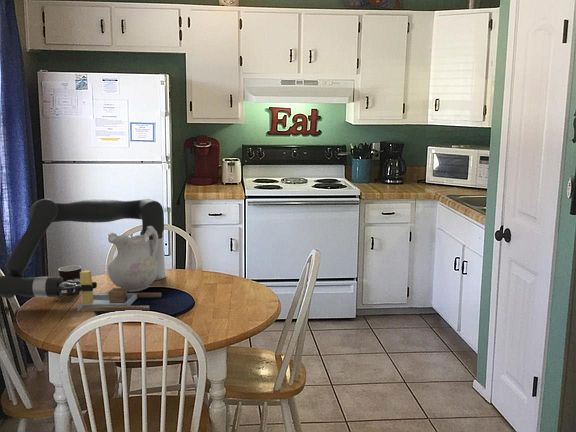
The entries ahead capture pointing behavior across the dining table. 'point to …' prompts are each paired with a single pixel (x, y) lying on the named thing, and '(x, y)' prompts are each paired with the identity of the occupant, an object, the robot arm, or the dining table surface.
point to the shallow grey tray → (98, 299)
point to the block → (118, 295)
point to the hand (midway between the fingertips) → (94, 286)
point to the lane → (119, 308)
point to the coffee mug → (70, 273)
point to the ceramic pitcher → (134, 261)
